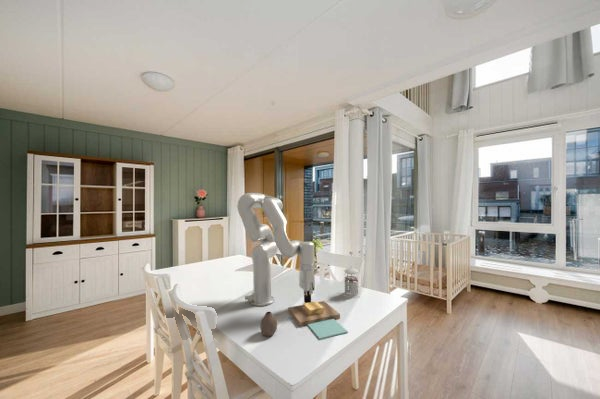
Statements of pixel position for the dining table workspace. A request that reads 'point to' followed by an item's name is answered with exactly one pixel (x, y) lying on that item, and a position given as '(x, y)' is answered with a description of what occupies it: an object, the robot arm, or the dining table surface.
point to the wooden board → (305, 318)
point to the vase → (268, 324)
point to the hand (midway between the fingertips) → (307, 302)
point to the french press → (351, 283)
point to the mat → (327, 328)
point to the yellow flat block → (313, 308)
